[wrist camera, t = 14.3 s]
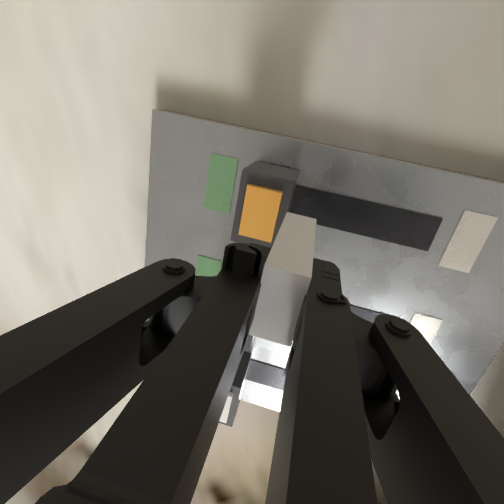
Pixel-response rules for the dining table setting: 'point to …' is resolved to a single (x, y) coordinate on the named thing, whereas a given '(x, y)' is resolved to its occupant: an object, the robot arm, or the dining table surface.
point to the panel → (343, 235)
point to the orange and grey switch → (263, 202)
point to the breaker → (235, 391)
